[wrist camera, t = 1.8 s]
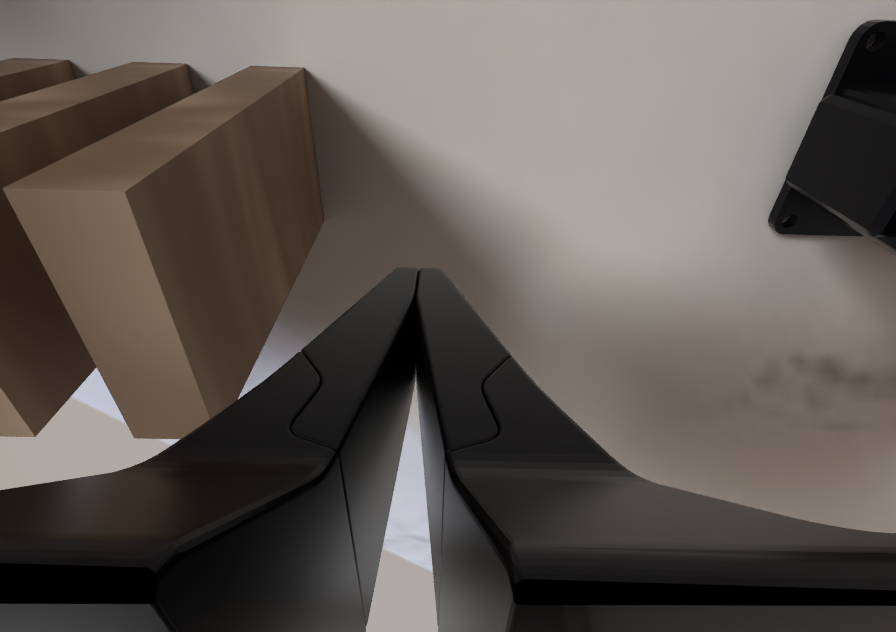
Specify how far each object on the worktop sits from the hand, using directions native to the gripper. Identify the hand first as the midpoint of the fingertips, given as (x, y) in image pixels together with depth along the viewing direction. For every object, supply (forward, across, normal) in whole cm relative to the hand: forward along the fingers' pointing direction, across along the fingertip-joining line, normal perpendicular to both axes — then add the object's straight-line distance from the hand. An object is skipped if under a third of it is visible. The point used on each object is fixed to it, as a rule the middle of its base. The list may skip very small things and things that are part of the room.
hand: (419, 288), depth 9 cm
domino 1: (+8, +5, 0) cm, 10 cm away
